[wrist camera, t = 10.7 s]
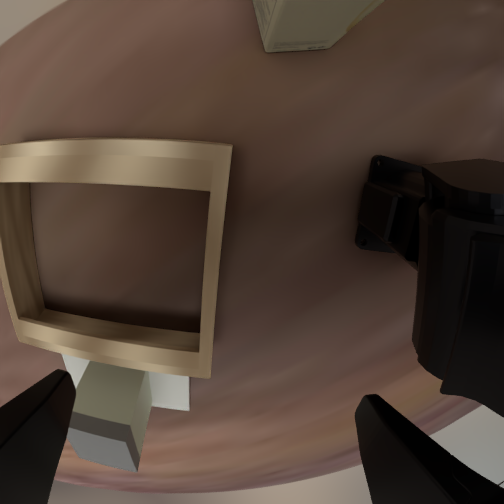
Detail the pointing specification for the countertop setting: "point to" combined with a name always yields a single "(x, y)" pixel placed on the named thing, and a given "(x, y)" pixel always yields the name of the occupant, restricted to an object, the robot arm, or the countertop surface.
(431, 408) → the countertop surface
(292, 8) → the skincare box
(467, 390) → the robot arm
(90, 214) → the countertop surface
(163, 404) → the grey mat
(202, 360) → the wooden frame
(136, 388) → the sage box
